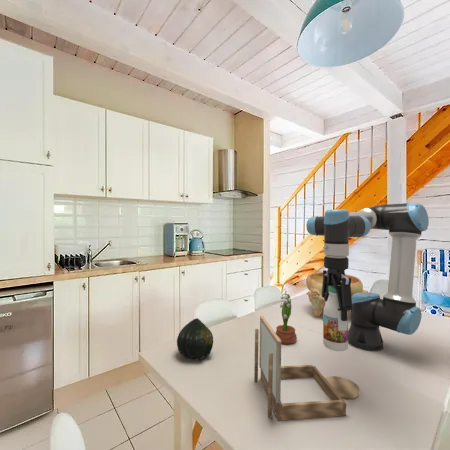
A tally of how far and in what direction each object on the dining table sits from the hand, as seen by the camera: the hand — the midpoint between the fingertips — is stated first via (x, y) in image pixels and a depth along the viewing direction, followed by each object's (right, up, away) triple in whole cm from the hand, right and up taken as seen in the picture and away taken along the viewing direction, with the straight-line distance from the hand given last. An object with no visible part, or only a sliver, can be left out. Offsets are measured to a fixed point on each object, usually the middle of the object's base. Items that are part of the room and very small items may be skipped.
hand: (335, 324), depth 88 cm
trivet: (+2, -21, +1) cm, 22 cm away
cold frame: (-13, -21, -3) cm, 25 cm away
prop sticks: (-25, -21, -5) cm, 33 cm away
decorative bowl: (+28, -22, +76) cm, 84 cm away
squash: (-49, -21, +22) cm, 58 cm away
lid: (-23, -17, -4) cm, 29 cm away
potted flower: (-9, -21, +36) cm, 42 cm away
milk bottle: (0, -7, 0) cm, 7 cm away
